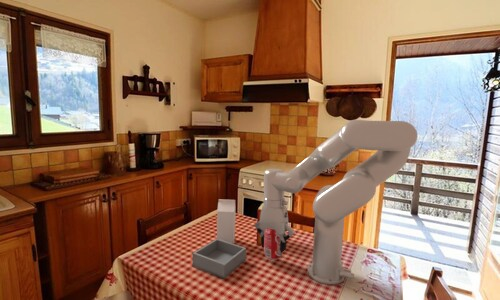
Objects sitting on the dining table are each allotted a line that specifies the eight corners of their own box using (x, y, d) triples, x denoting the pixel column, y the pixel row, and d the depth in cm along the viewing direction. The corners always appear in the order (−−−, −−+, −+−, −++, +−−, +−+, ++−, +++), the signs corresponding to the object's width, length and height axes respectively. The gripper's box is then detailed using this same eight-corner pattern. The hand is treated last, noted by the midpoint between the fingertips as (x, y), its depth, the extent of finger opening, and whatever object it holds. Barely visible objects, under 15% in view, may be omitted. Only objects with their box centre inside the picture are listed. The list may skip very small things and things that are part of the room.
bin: (245, 260, 99) (246, 248, 98) (224, 279, 87) (224, 265, 86) (216, 250, 106) (216, 238, 105) (192, 266, 94) (192, 253, 93)
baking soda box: (261, 235, 121) (262, 202, 119) (275, 237, 119) (276, 203, 117) (256, 244, 112) (257, 208, 110) (271, 246, 110) (272, 210, 108)
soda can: (284, 253, 101) (284, 223, 100) (281, 262, 94) (281, 230, 93) (266, 250, 103) (266, 221, 102) (262, 259, 96) (262, 228, 95)
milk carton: (233, 246, 109) (234, 202, 107) (216, 245, 110) (217, 201, 107) (234, 238, 117) (235, 197, 114) (218, 238, 117) (219, 196, 115)
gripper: (299, 203, 95) (298, 249, 97) (258, 196, 104) (258, 239, 106) (292, 209, 89) (291, 258, 90) (248, 201, 97) (248, 247, 99)
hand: (273, 248), depth 98 cm, fingers closed on soda can, 7 cm apart
